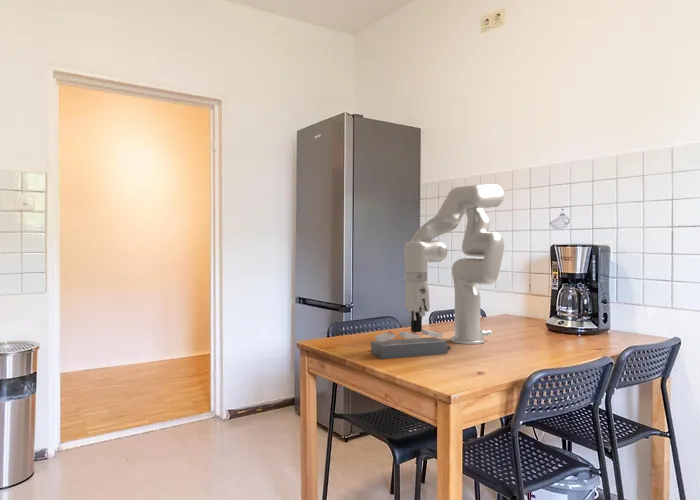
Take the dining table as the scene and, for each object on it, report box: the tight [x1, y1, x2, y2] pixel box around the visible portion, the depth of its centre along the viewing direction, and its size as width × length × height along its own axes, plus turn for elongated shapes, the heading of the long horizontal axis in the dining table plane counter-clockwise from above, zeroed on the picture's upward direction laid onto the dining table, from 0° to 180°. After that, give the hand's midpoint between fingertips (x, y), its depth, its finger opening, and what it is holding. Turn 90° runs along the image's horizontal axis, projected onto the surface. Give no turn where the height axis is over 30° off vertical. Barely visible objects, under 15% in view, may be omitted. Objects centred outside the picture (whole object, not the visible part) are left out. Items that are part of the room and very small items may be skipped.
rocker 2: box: [398, 331, 421, 339], centre depth 164 cm, size 6×4×2 cm
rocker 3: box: [421, 329, 443, 339], centre depth 167 cm, size 6×4×2 cm
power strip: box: [370, 336, 451, 360], centre depth 165 cm, size 28×9×4 cm, turn 108°
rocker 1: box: [374, 331, 397, 342], centre depth 161 cm, size 6×4×2 cm
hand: (416, 331), depth 165 cm, fingers closed
